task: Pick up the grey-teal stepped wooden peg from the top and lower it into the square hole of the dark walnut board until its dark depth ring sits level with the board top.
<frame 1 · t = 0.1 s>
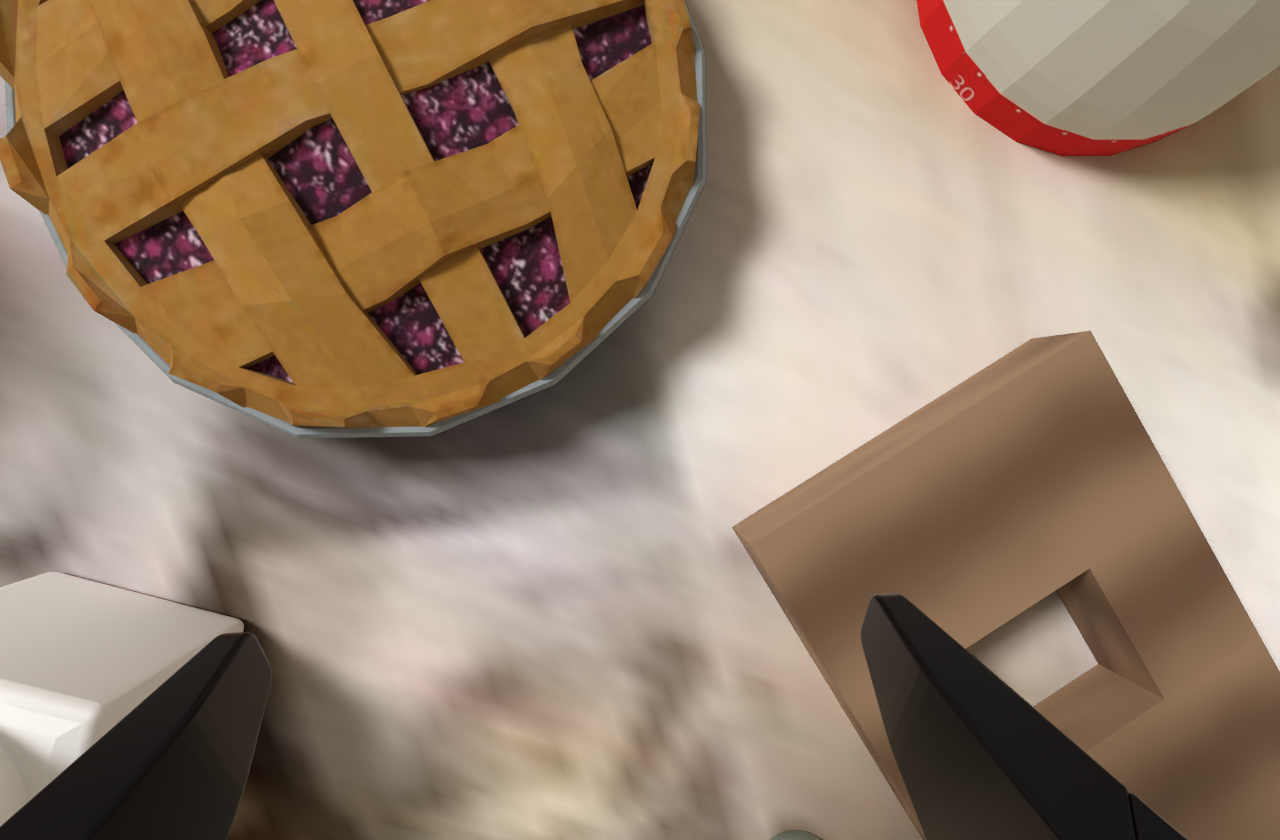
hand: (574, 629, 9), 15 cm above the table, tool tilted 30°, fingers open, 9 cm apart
socket board: (1008, 644, 26), on the table
pie: (399, 138, 24), on the table
medicine bottle: (129, 683, 24), on the table
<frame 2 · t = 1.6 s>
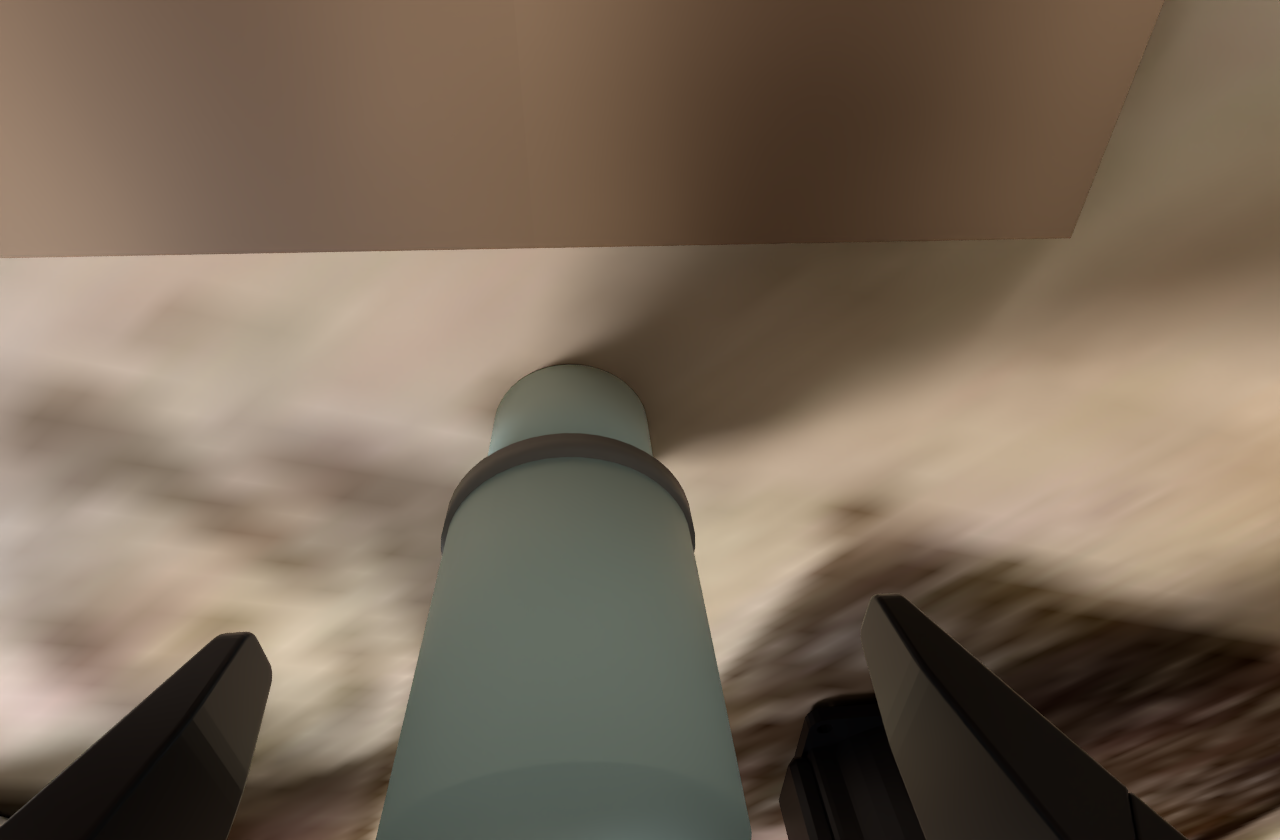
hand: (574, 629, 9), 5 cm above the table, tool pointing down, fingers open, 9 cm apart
stepped peg: (571, 430, 13), on the table
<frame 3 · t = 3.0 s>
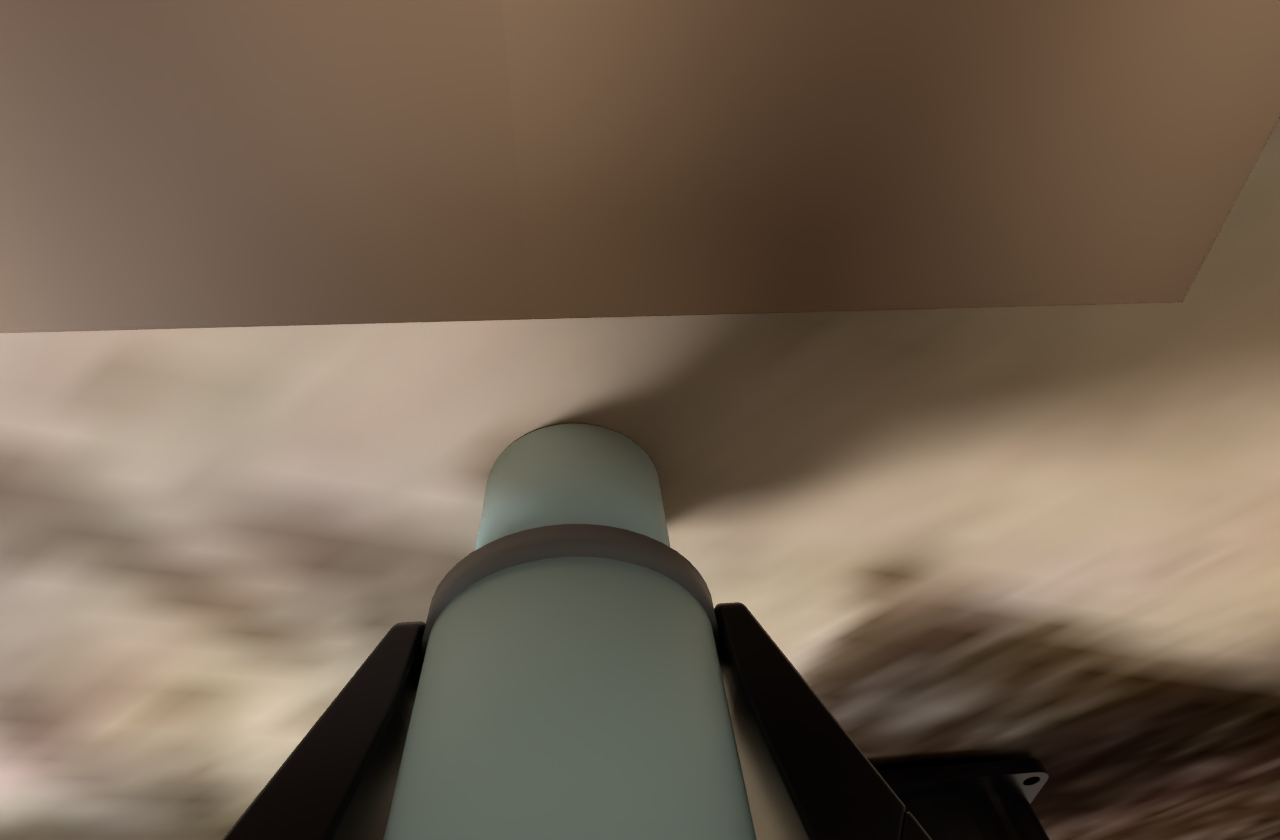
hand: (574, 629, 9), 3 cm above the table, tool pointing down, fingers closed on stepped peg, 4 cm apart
stepped peg: (574, 494, 12), on the table, touching gripper
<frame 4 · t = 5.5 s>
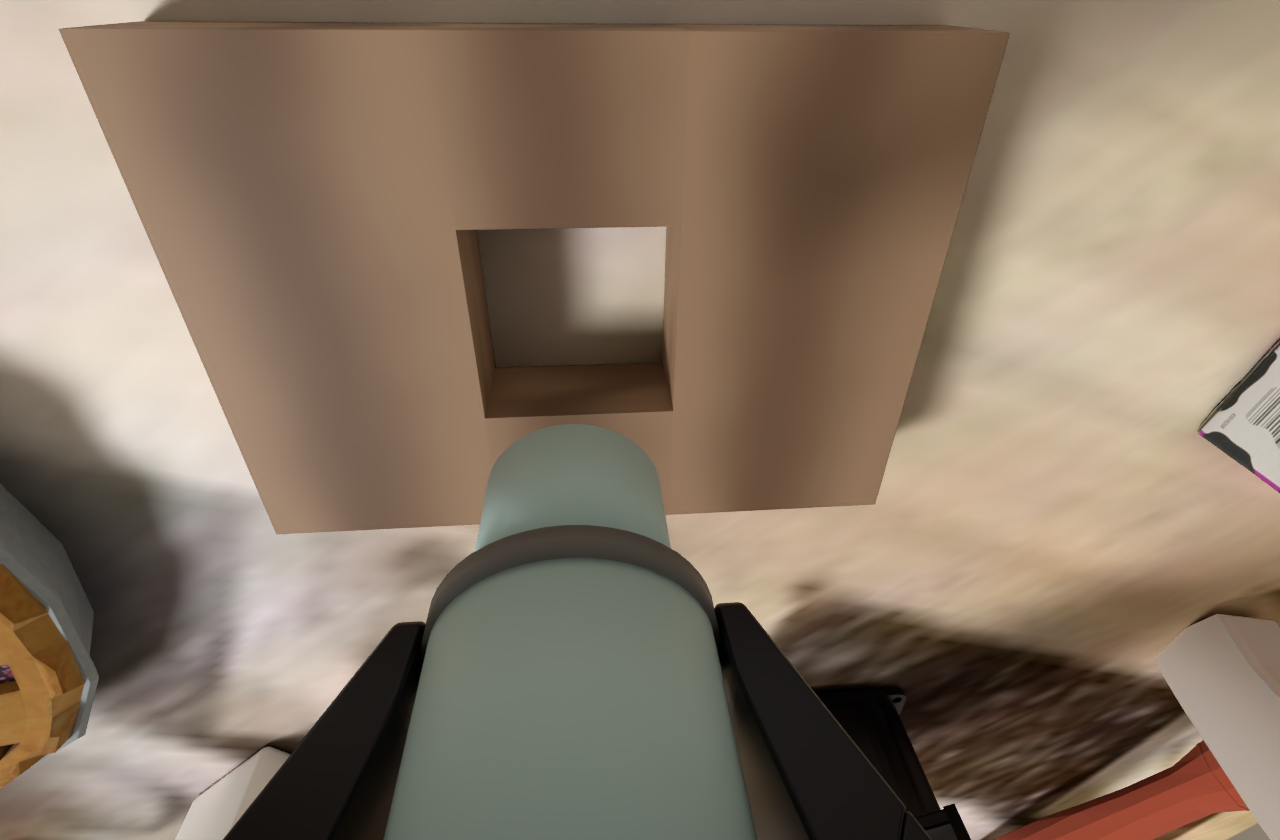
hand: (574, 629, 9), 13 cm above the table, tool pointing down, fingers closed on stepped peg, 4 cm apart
socket board: (575, 287, 20), on the table
medicine bottle: (292, 788, 35), on the table
mallet: (1060, 756, 41), on the table
stepped peg: (574, 494, 12), point 10 cm above the table, touching gripper
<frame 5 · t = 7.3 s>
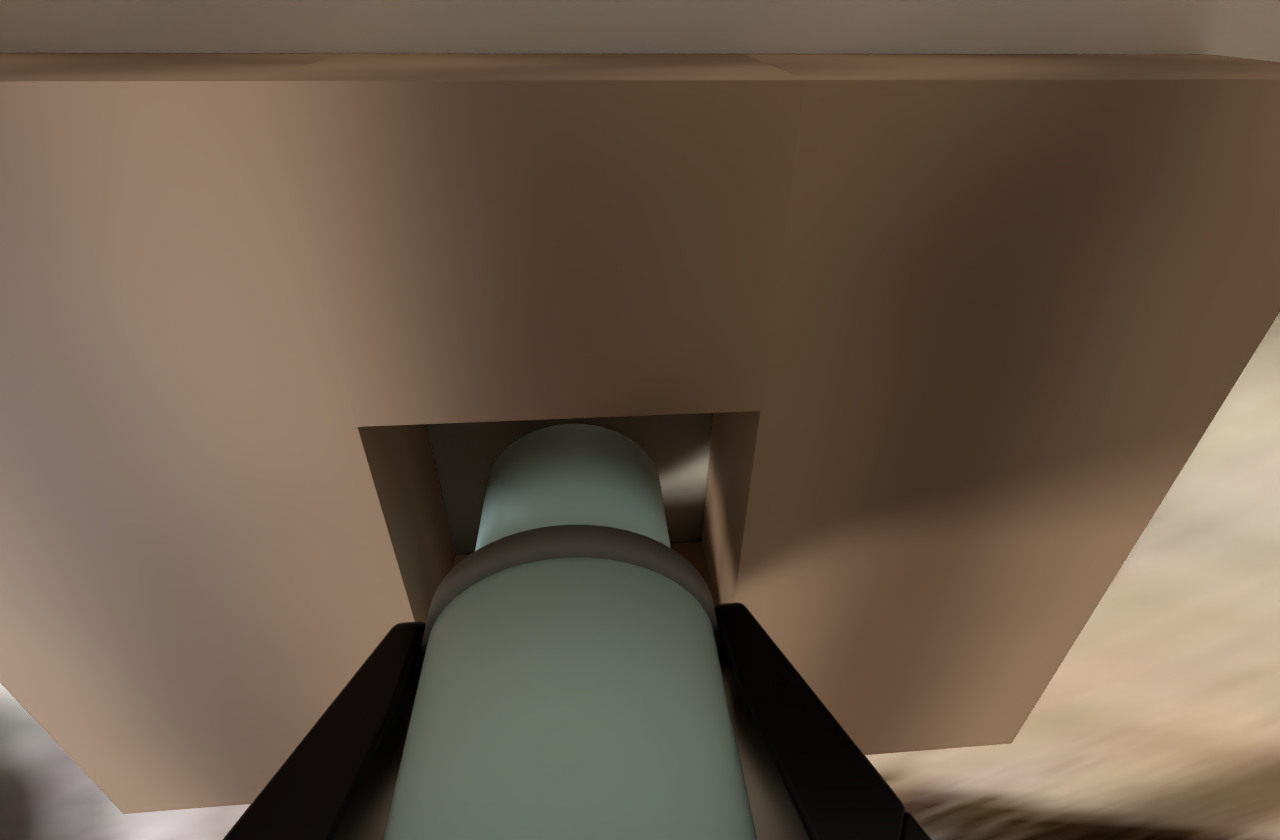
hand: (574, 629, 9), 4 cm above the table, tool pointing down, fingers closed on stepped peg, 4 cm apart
socket board: (574, 449, 13), on the table
stepped peg: (574, 494, 12), point 1 cm above the table, touching gripper
when the fingers open (4 cm above the table, at t = 8.5 s): stepped peg stays where it is, resting in socket board.
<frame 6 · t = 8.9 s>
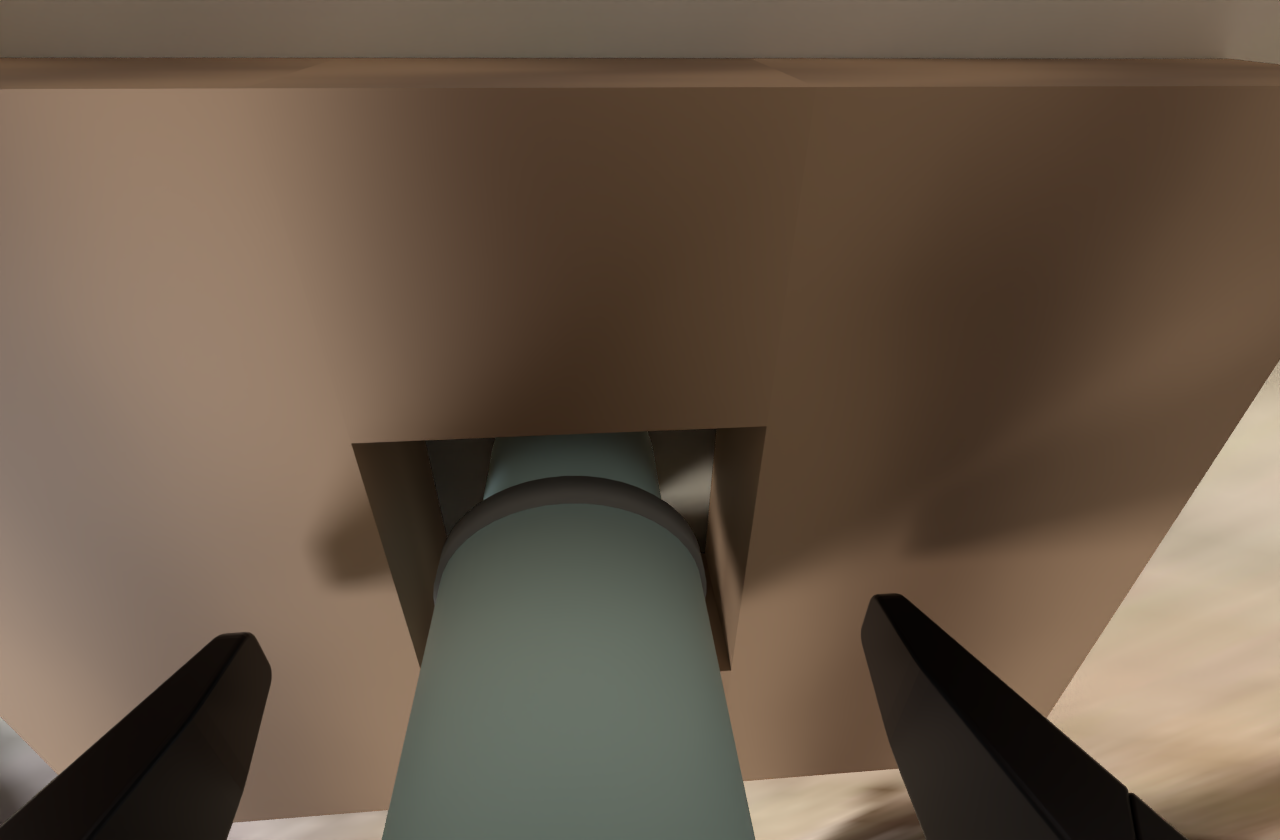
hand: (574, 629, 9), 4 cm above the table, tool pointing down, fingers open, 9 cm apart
socket board: (574, 461, 13), on the table
stepped peg: (573, 461, 13), resting in socket board
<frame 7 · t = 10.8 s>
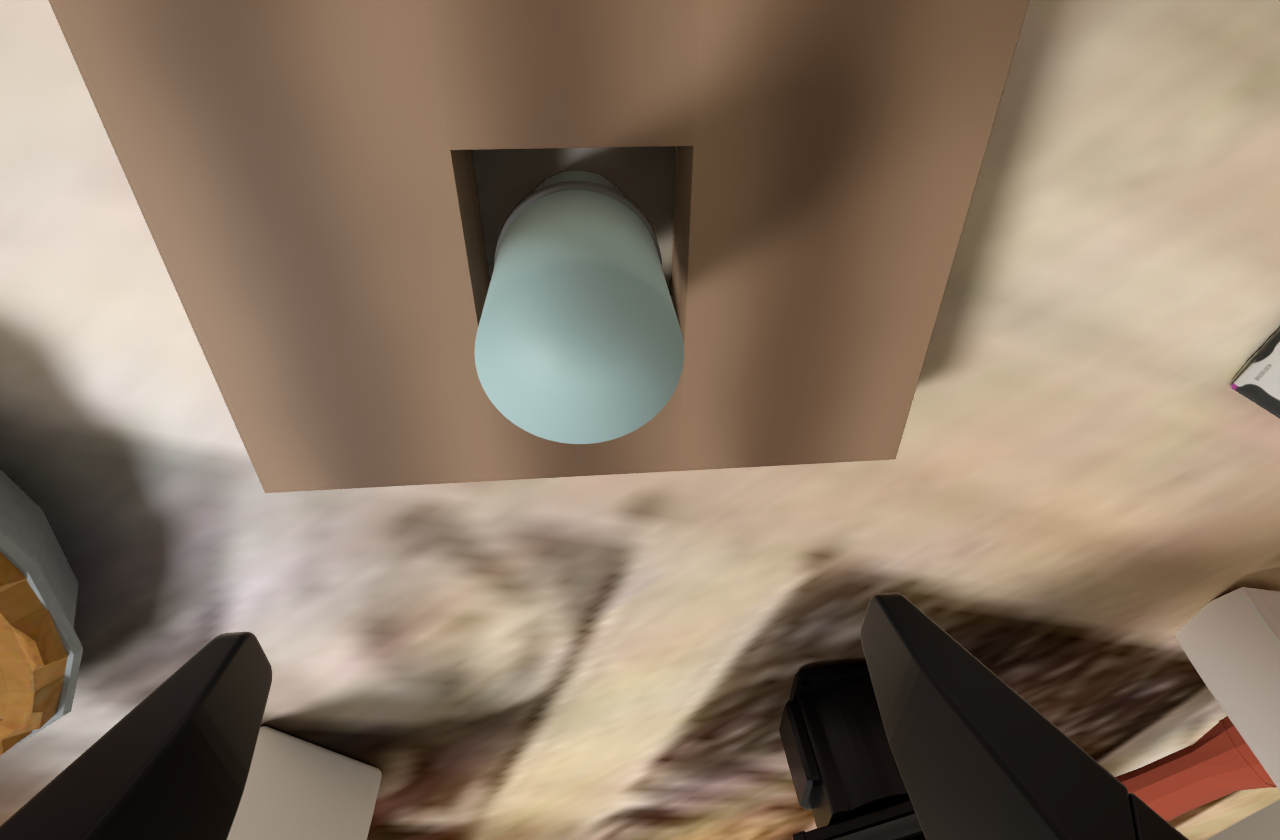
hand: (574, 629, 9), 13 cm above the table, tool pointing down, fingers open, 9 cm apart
socket board: (579, 226, 19), on the table
medicine bottle: (290, 770, 34), on the table
mallet: (1074, 737, 40), on the table
stepped peg: (578, 226, 19), resting in socket board
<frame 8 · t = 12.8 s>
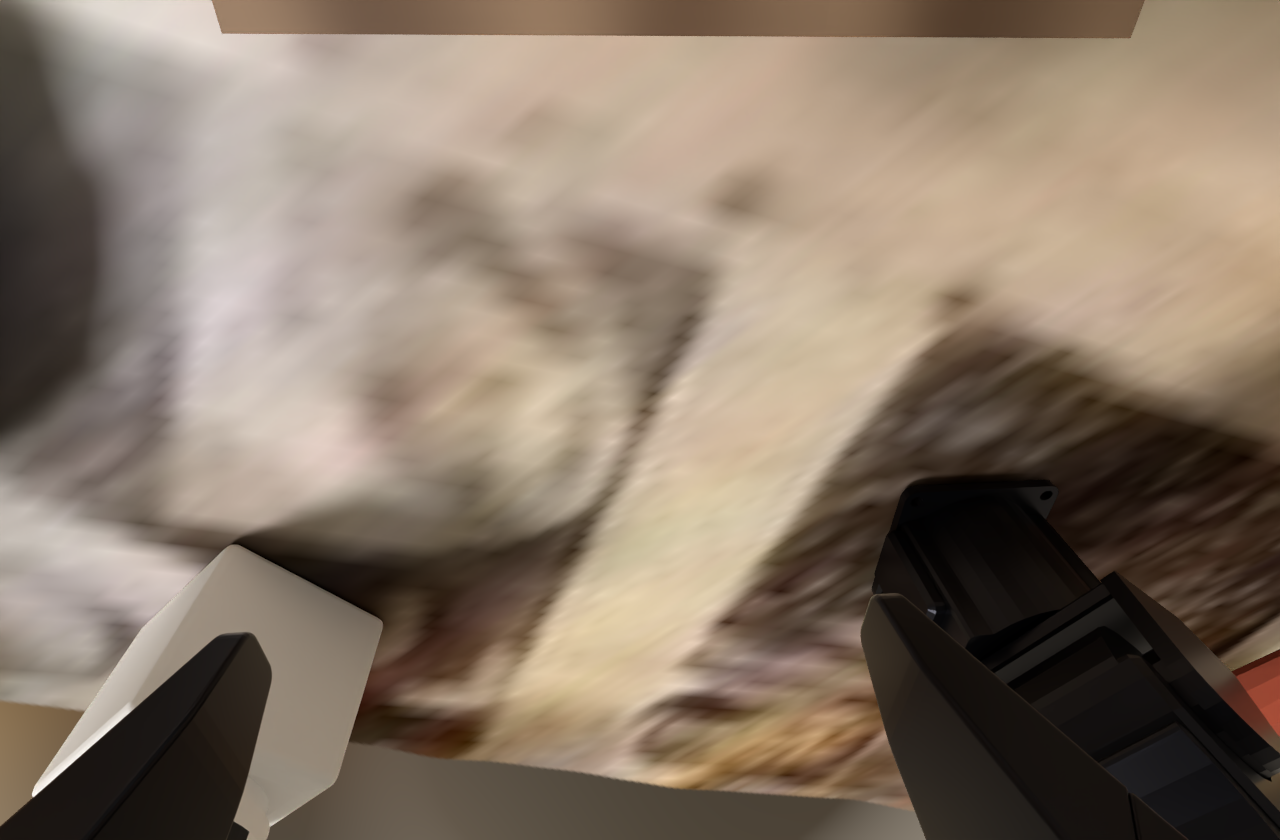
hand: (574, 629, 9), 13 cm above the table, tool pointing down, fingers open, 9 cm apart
medicine bottle: (269, 618, 28), on the table
mallet: (1209, 617, 34), on the table
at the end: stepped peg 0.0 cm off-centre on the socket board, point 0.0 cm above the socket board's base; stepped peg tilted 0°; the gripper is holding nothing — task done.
